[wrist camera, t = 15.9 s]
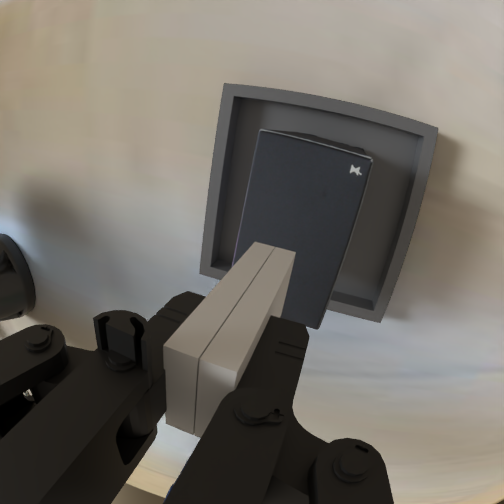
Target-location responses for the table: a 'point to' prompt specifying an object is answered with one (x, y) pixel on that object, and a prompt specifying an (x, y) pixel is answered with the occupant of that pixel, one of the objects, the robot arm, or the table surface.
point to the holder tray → (375, 200)
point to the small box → (304, 212)
